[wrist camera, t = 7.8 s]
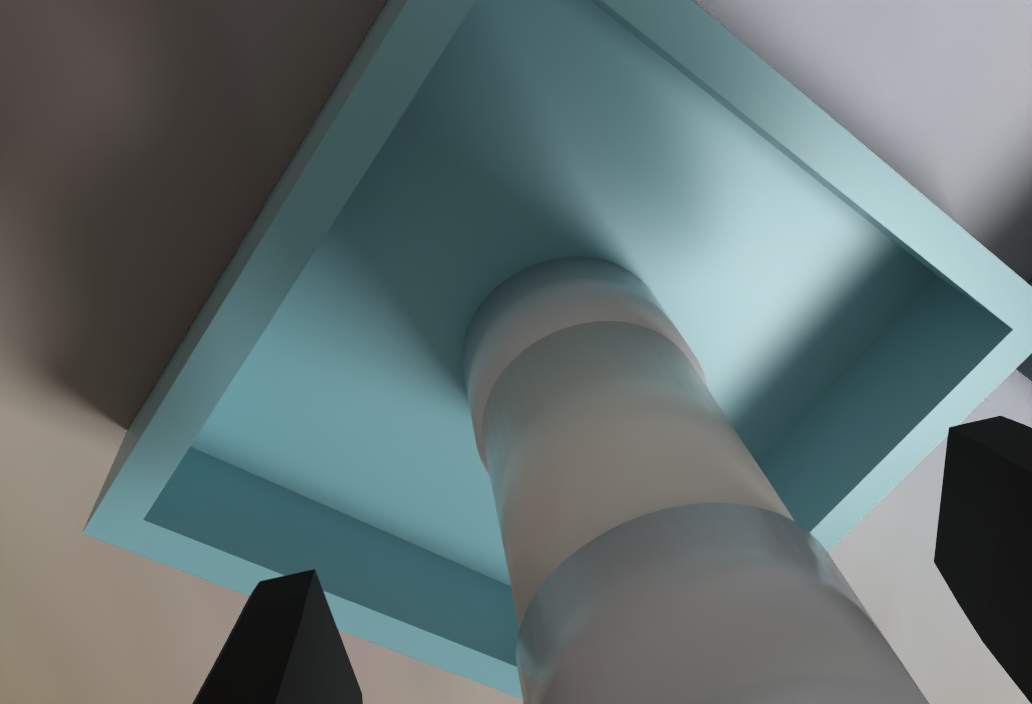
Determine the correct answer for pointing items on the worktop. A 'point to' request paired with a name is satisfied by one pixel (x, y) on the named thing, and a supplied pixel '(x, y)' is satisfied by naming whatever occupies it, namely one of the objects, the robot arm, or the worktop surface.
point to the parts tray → (520, 244)
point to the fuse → (647, 515)
